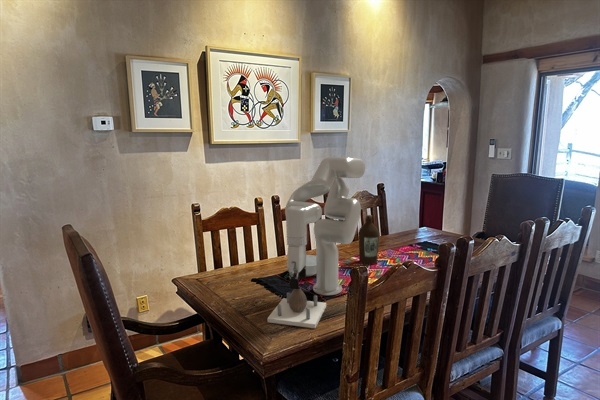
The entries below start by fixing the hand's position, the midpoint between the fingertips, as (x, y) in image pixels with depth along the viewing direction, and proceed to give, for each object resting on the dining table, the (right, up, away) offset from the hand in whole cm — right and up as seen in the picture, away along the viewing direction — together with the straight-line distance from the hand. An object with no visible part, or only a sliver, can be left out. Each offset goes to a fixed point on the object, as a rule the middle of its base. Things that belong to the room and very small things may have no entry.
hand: (298, 283), depth 149 cm
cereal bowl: (+4, -5, +44) cm, 44 cm away
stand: (0, -12, +2) cm, 12 cm away
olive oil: (+37, -1, +59) cm, 69 cm away
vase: (0, -11, +2) cm, 11 cm away
